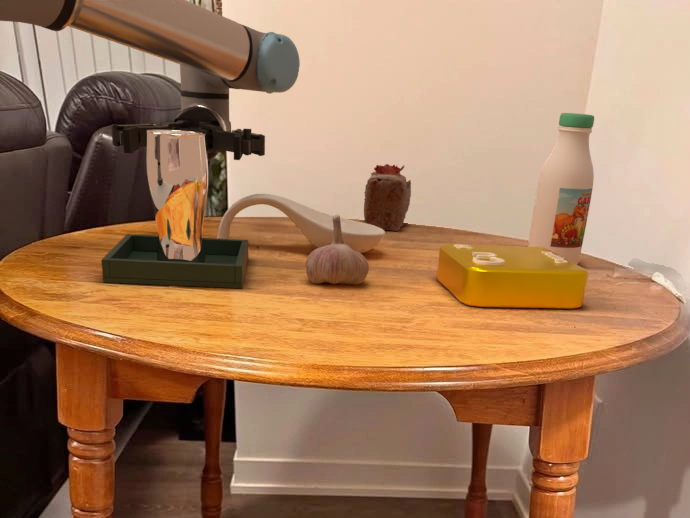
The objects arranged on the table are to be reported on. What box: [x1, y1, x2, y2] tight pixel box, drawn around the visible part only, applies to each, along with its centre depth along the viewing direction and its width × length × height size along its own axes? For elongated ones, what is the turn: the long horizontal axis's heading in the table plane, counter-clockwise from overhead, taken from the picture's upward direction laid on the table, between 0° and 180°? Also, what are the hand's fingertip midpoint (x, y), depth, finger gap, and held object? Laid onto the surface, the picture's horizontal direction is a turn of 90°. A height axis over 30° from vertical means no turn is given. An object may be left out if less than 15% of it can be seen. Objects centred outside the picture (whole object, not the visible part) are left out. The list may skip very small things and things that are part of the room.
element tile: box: [436, 243, 589, 310], centre depth 95 cm, size 15×15×5 cm
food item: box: [363, 163, 412, 232], centre depth 133 cm, size 14×8×10 cm, turn 177°
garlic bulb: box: [305, 214, 370, 285], centre depth 93 cm, size 8×7×8 cm
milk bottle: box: [527, 112, 595, 265], centre depth 110 cm, size 8×8×20 cm
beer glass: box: [145, 130, 209, 263], centre depth 92 cm, size 7×7×15 cm
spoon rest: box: [216, 193, 386, 254], centre depth 110 cm, size 24×12×7 cm, turn 92°
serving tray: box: [101, 233, 249, 290], centre depth 95 cm, size 16×16×3 cm
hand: (181, 145), depth 97 cm, fingers open, 13 cm apart
